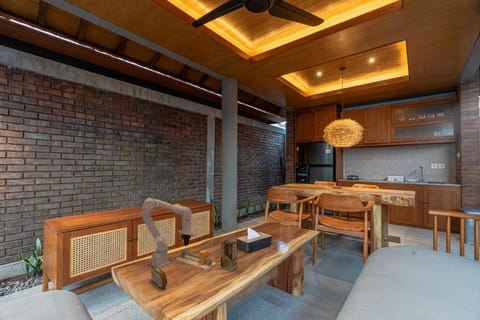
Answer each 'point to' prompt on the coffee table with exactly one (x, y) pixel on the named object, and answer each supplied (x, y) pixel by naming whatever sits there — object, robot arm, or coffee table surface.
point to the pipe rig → (195, 260)
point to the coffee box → (229, 255)
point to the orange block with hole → (203, 254)
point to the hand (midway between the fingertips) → (186, 245)
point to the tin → (159, 277)
